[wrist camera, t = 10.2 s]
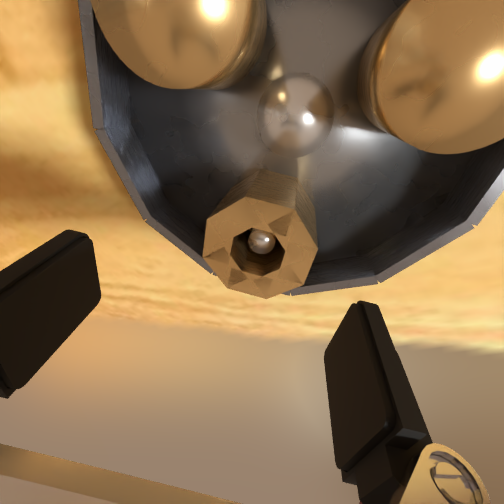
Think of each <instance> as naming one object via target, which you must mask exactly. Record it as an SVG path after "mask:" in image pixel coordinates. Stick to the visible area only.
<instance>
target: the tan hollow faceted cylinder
mask: <svg viewBox="0 0 504 504" xmlns="http://www.w3.org/2000/svg"><path fill="white" fill-rule="evenodd" d="M252 228H255V229H259V230H263V231H266V232H270V233H274V234H275V236H276V240H275V245H274V248H273V249H272V251H270V252H269V253H266V254H259V253H256V252H254V251H253V250H252V249H251V248H250V246H249V244H248V239H249V236H250V234H251V231H252ZM317 250H318V243H317V230H316V217H315V208H314V206H313V204H312V202H311V201H310V199H309V197H308V195H307V193H306V192H305V190H304V188H303V186H302V184H301V183H300V181H299V179H298V178H296V177H292V176H289V175H285V174H281V173H277V172H273V171H269V170H265V169H260V170H259V171H257V172H255V173H254V174H252V175H251V176H249V177H247V178H246V179H244V180H243V181H241V182H239V183H238V184H236V185H235V186H233V187H232V188H231V189H230V190H229V192H228V193H227V194H226V196H225V197H224V198H223V199H222V201H221V202H220V203H219V205H218V206H217V207H216V208H215V210H214V211H213V212H212V214H211V215H210V216H209V217H208V219H207V223H206V232H205V240H204V248H203V256H202V257H203V259H204V260H205V261H206V262H207V264H208V265H209V266H210V267H211V269H212V270H213V271H214V272H215V274H216V275H217V276H218V277H219V279H220V280H221V281H222V282H223V284H224V285H225V286H226V287H227V288H229V289H232V290H236V291H239V292H243V293H247V294H250V295H254V296H257V297H261V298H265V299H268V298H270V297H273V296H276V295H278V294H281V293H284V292H286V291H289V290H291V289H294V288H297V287H299V286H302V285H304V282H305V280H306V277H307V275H308V272H309V270H310V268H311V265H312V263H313V260H314V258H315V255H316V253H317Z"/></svg>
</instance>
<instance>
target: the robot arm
mask: <svg viewBox="0 0 504 504" xmlns="http://www.w3.org/2000/svg"><path fill="white" fill-rule="evenodd" d="M100 299H101V290H100V284H99V278H98V272H97V266H96V260H95V253H94V247H93V242H92V240H91V239H89V236H88V235H87V234H85V233H82V232H77V231H73V230H65V231H63V232H62V233H60V234H59V235H57V236H55V237H54V238H52V239H51V240H49V241H48V242H46V243H44V244H43V245H41V246H40V247H38V248H36V249H35V250H33V251H32V252H30V253H29V254H27V255H25V256H24V257H22V258H21V259H19V260H17V261H16V262H14V263H13V264H11V265H9V266H8V267H6V268H5V269H3V270H2V271H0V397H3V398H7V399H8V398H9V396H11V394H12V393H13V392H14V391H15V390H16V389H20V388H22V387H23V386H24V385H25V384H26V383H27V382H28V381H29V380H30V379H31V378H32V377H33V376H34V374H35V373H36V372H37V371H38V370H39V369H40V368H41V367H42V366H43V365H44V363H45V362H46V361H47V360H48V359H49V358H50V357H51V356H52V355H53V353H54V352H55V351H56V350H57V349H58V348H59V347H60V346H61V344H62V343H63V342H64V341H65V340H66V339H67V338H68V337H69V336H70V335H71V333H72V332H73V331H74V330H75V329H76V328H77V327H78V325H79V324H80V323H81V322H82V321H83V320H84V319H85V318H86V317H87V316H88V315H89V313H90V312H91V311H92V310H93V309H94V308H95V307H96V306H97V304H98V303H99V301H100ZM324 363H325V372H326V382H327V391H328V399H329V409H330V418H331V427H332V436H333V445H334V454H335V462H336V465H337V467H338V468H339V469H341V472H342V480H343V482H346V483H350V484H354V485H357V487H358V494H359V500H360V502H359V504H491V501H490V498H489V495H488V492H487V490H486V488H485V486H484V484H483V482H482V480H481V479H480V477H479V476H478V474H477V473H476V472H475V470H474V469H473V468H472V466H470V464H469V463H468V462H467V461H466V460H465V459H464V458H463V457H462V456H460V455H459V454H457V453H456V452H454V451H453V450H452V449H450V448H448V447H446V446H444V445H442V444H435V443H433V442H432V440H431V437H430V435H429V432H428V430H427V427H426V424H425V422H424V419H423V417H422V414H421V412H420V409H419V407H418V404H417V401H416V399H415V396H414V394H413V391H412V388H411V386H410V383H409V381H408V378H407V376H406V373H405V370H404V368H403V365H402V363H401V360H400V358H399V356H398V353H397V352H396V350H395V348H394V345H393V343H392V340H391V337H390V335H389V332H388V330H387V327H386V324H385V322H384V319H383V317H382V314H381V311H380V309H379V307H378V305H376V304H373V303H369V302H365V301H358V302H357V304H355V303H353V304H352V305H351V306H350V308H349V310H348V311H347V313H346V315H345V317H344V318H343V320H342V322H341V324H340V325H339V327H338V329H337V331H336V332H335V334H334V336H333V338H332V340H331V341H330V343H329V345H328V347H327V349H326V350H325V355H324ZM0 504H241V503H237V502H233V501H229V500H225V499H221V498H217V497H213V496H210V495H206V494H202V493H197V492H194V491H190V490H186V489H182V488H178V487H174V486H170V485H166V484H162V483H158V482H154V481H150V480H145V479H142V478H138V477H133V476H130V475H126V474H121V473H118V472H114V471H109V470H106V469H101V468H97V467H93V466H89V465H85V464H81V463H77V462H73V461H69V460H65V459H61V458H57V457H53V456H49V455H45V454H41V453H36V452H32V451H28V450H24V449H20V448H16V447H12V446H8V445H3V444H0Z"/></svg>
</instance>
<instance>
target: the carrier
mask: <svg viewBox="0 0 504 504" xmlns="http://www.w3.org/2000/svg"><path fill="white" fill-rule="evenodd" d="M78 5H79V14H80V22H81V30H82V39H83V47H84V55H85V64H86V72H87V80H88V89H89V97H90V105H91V114H92V122H93V128H96V129H98V130H96V131H95V133H96V135H97V137H98V139H99V140H100V142H101V144H102V146H103V148H104V149H105V151H106V153H107V155H108V157H109V158H110V160H111V162H112V164H113V166H114V167H115V169H116V171H117V173H118V175H119V176H120V178H121V180H122V182H123V184H124V185H125V187H126V189H127V191H128V193H129V194H130V196H131V198H132V200H133V202H134V203H135V205H136V207H137V209H138V211H139V212H140V214H141V216H142V218H143V220H145V219H147V220H146V221H145V222H146V223H147V224H149V225H150V226H151V227H153V228H154V229H155V230H156V231H158V232H159V233H160V234H161V235H163V236H164V237H165V238H166V239H168V240H169V241H170V242H171V243H173V244H174V245H175V246H176V247H178V248H179V249H180V250H181V251H183V252H184V253H185V254H187V255H188V256H189V257H190V258H192V259H193V260H194V261H195V262H197V263H198V264H199V265H200V266H202V267H203V268H204V269H205V270H207V271H208V272H209V273H210V274H211V273H212V272H213V275H215V276H217V275H216V274H215V272H214V271H213V270H212V269H211V267H210V266H209V265H208V264H207V262H206V261H205V260H204V259H203V257H202V256H203V248H204V240H205V232H206V223H207V219H208V217H209V216H210V215H211V214H212V212H213V211H214V210H215V208H216V207H217V206H218V205H219V203H220V202H221V201H222V199H223V198H224V197H225V196H226V194H227V193H228V192H229V190H230V189H231V188H232V187H233V186H235V185H236V184H238V183H239V182H241V181H243V180H244V179H246V178H247V177H249V176H251V175H252V174H254V173H255V172H257V171H259V170H260V169H265V170H269V171H273V172H277V173H281V174H285V175H289V176H292V177H296V178H298V179H299V181H300V183H301V184H302V186H303V188H304V190H305V192H306V193H307V195H308V197H309V199H310V201H311V202H312V204H313V206H314V208H315V217H316V230H317V243H318V250H317V253H316V255H315V258H314V260H313V263H312V265H311V268H310V270H309V272H308V275H307V277H306V280H305V282H304V285H302V286H299V287H297V288H294V289H291V290H289V291H286V292H284V293H281V294H285V295H290V292H291V295H292V296H294V295H301V294H309V293H316V292H323V291H330V290H338V289H345V288H352V287H360V286H367V285H374V284H378V282H377V280H378V281H379V282H380V283H381V282H383V281H385V280H387V279H388V278H390V277H392V276H393V275H395V274H397V273H398V272H400V271H402V270H404V269H405V268H407V267H409V266H410V265H412V264H414V263H416V262H417V261H419V260H421V259H422V258H424V257H426V256H427V255H429V254H431V253H433V252H434V251H436V250H438V249H439V248H441V247H443V246H444V245H446V244H448V243H450V242H451V241H453V240H455V239H456V238H458V237H460V236H462V235H463V234H465V233H467V232H468V231H470V230H472V229H473V228H474V227H473V226H472V224H473V225H478V224H479V222H480V221H481V220H482V218H483V217H484V216H485V215H486V213H487V212H488V211H489V209H490V208H491V207H492V205H493V204H494V203H495V201H496V200H497V199H498V197H499V196H500V195H501V193H502V192H503V191H504V0H78ZM275 240H276V236H275V234H274V233H270V232H266V231H263V230H259V229H255V228H252V231H251V234H250V236H249V239H248V244H249V246H250V248H251V249H252V250H253V251H254V252H256V253H259V254H266V253H269V252H270V251H272V249H273V248H274V245H275Z"/></svg>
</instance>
